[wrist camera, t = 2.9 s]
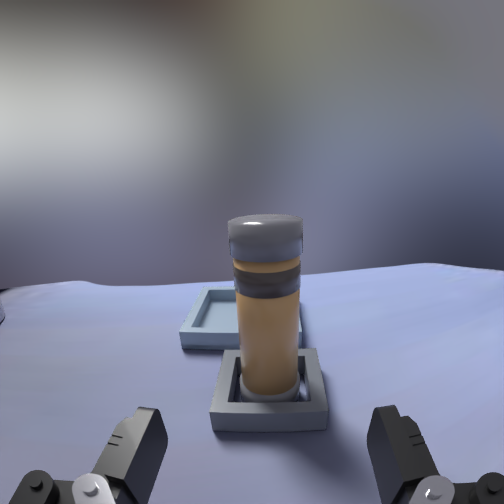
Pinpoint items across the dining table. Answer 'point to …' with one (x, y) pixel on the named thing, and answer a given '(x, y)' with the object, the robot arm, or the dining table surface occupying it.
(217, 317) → the parts tray
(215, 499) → the dining table surface
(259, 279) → the grey capped cylinder
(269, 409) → the socket block
